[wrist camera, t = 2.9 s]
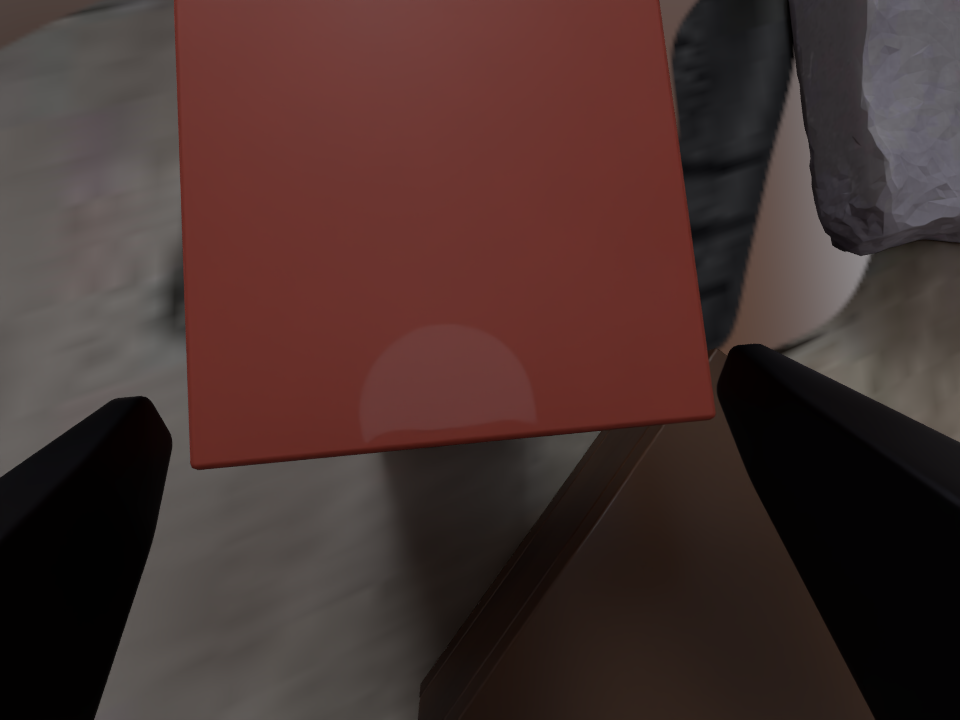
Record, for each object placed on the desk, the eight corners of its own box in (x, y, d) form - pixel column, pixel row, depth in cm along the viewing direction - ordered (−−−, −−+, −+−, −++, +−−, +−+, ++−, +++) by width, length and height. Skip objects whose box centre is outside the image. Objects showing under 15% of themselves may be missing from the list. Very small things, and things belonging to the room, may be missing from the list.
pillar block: (523, 415, 17) (719, 419, 5) (375, 429, 17) (187, 472, 5) (508, 272, 18) (654, -48, 5) (364, 282, 17) (169, -38, 5)
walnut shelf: (719, 916, 16) (825, 1109, 12) (419, 684, 16) (410, 787, 12) (922, 572, 18) (1083, 626, 13) (649, 363, 18) (717, 347, 13)
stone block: (946, -2, 22) (761, -42, 19) (1106, -107, 18) (892, -179, 15) (979, 266, 21) (791, 263, 19) (1155, 229, 17) (940, 219, 14)
